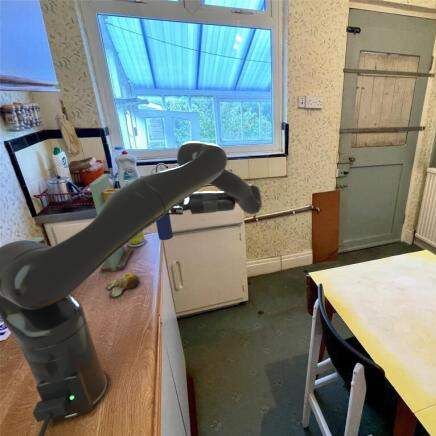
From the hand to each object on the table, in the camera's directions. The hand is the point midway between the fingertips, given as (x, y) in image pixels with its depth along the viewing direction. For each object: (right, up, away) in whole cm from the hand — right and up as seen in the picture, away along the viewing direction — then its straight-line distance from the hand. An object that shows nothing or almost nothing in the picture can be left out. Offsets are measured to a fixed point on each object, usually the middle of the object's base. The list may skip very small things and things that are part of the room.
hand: (151, 206), depth 96 cm
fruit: (-6, -25, -8) cm, 27 cm away
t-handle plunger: (+2, -11, +5) cm, 12 cm away
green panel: (-13, -19, +6) cm, 24 cm away
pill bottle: (-15, -14, +18) cm, 27 cm away
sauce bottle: (-20, -28, -15) cm, 38 cm away
